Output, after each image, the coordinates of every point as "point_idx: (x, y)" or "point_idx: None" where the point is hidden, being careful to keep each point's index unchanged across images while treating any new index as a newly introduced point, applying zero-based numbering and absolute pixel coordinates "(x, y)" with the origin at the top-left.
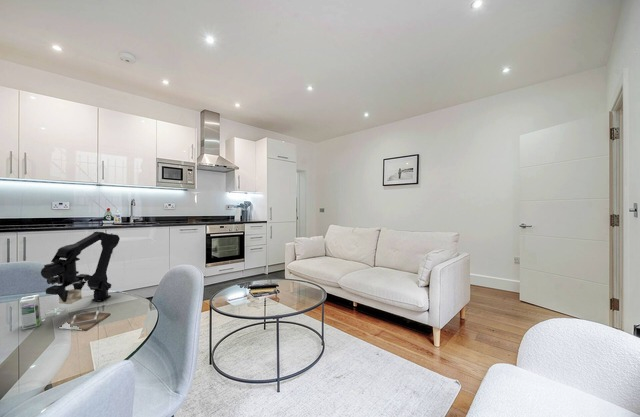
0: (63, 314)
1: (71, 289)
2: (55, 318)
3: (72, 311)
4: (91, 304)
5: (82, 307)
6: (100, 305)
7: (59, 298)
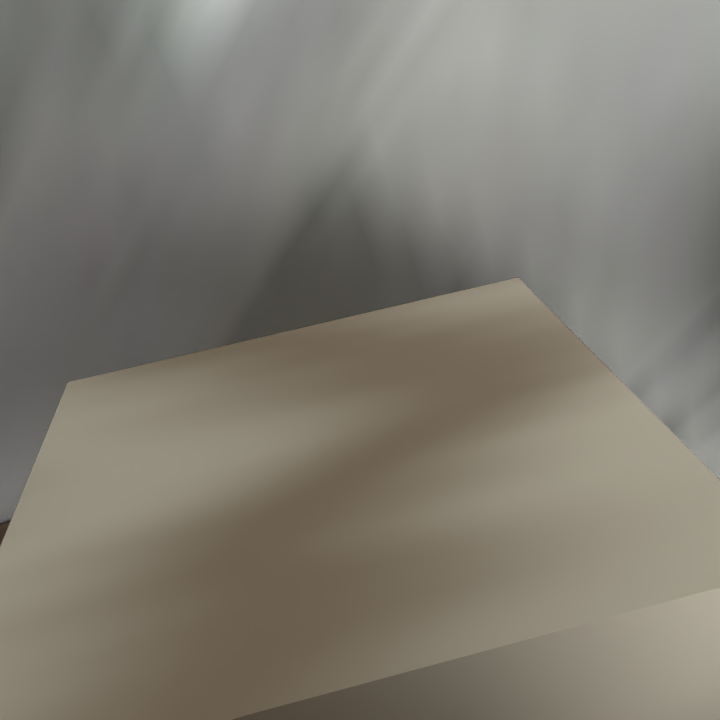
0: (232, 145)
1: (716, 689)
2: (59, 165)
3: (380, 189)
4: (674, 244)
5: (551, 206)
6: (651, 405)
7: (17, 550)
